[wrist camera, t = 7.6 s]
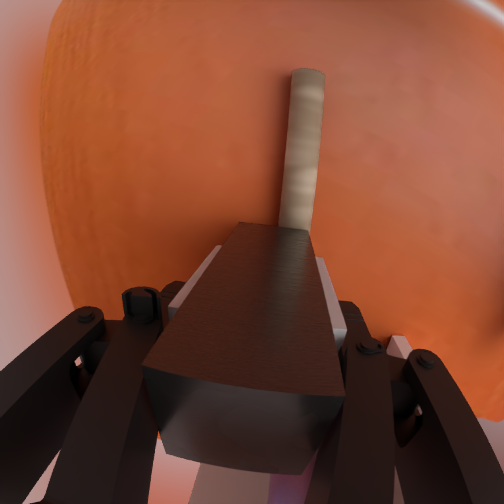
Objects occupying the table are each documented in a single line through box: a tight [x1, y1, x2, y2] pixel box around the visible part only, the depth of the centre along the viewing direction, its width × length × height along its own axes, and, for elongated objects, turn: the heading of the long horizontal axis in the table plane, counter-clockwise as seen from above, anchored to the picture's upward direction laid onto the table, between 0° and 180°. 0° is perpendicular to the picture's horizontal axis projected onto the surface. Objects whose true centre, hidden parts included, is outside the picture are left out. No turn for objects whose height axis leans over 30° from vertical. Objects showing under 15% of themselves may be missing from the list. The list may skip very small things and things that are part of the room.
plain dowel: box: [278, 68, 325, 235], centre depth 16 cm, size 12×2×2 cm
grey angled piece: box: [141, 222, 346, 475], centre depth 13 cm, size 17×8×12 cm, turn 175°
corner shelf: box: [188, 335, 422, 504], centre depth 12 cm, size 12×15×19 cm
